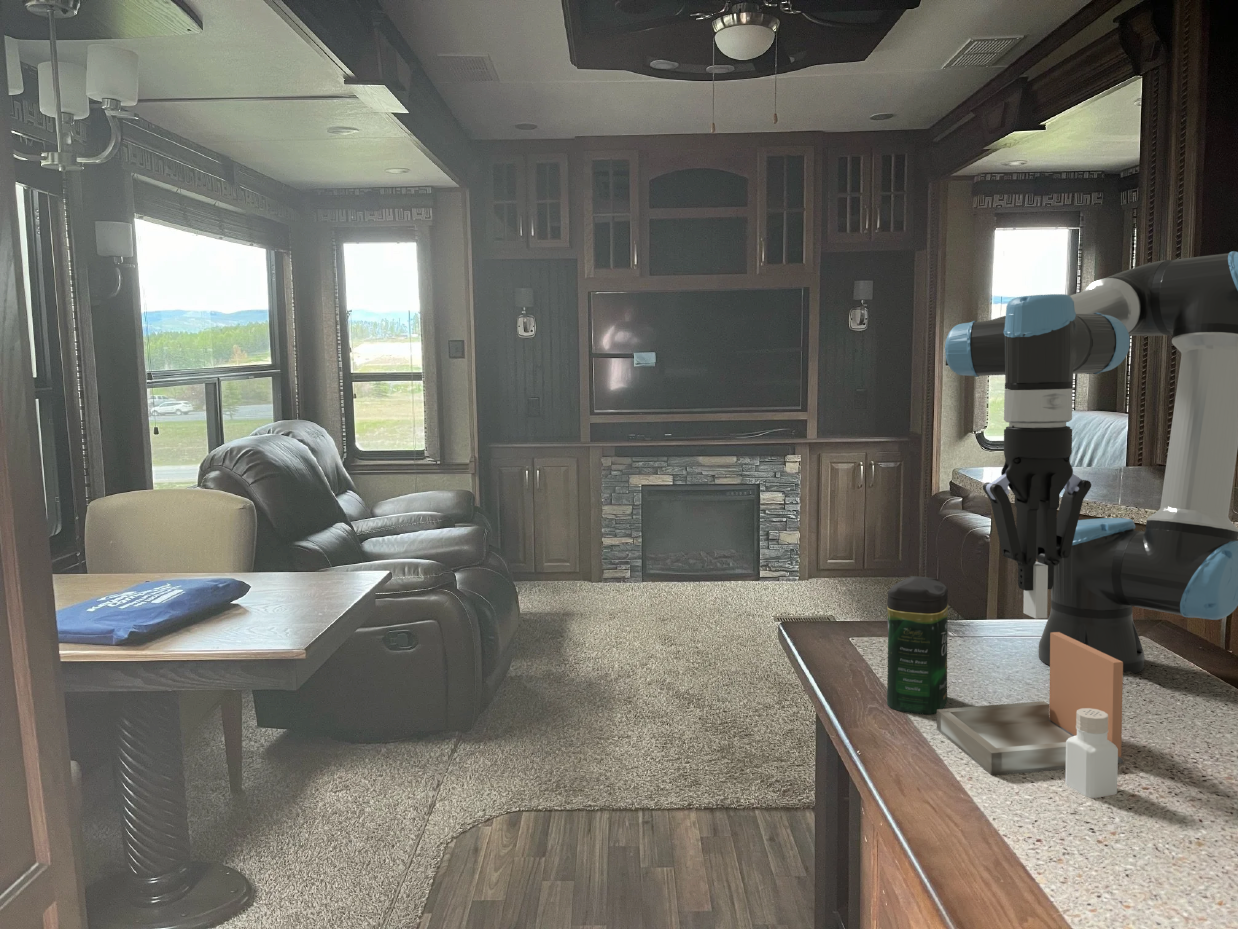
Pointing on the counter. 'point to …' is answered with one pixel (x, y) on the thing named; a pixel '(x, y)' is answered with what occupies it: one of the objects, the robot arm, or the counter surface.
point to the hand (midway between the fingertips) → (1035, 615)
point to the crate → (1006, 737)
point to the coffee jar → (917, 645)
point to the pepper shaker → (1091, 756)
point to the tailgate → (1084, 685)
